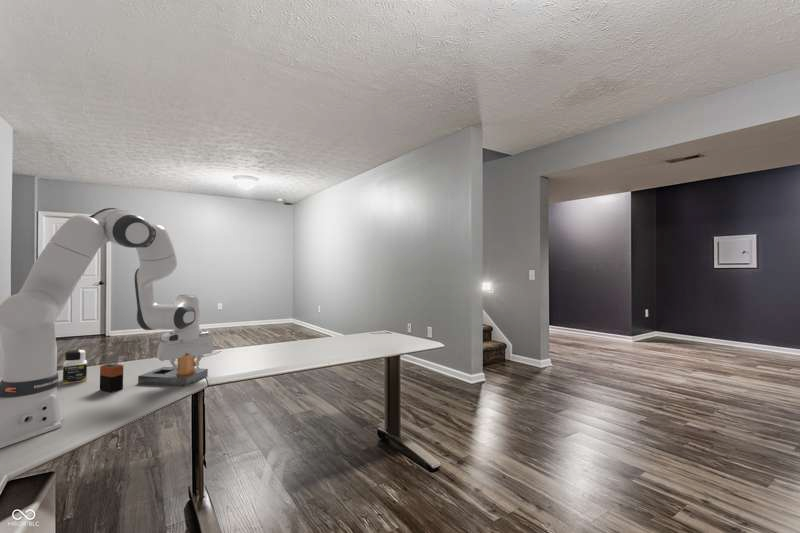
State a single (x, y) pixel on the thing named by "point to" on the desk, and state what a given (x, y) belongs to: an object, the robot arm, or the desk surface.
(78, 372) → the medicine bottle
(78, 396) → the desk surface
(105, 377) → the battery
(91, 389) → the desk surface
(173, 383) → the socket plate
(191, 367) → the plug
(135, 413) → the desk surface
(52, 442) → the desk surface
